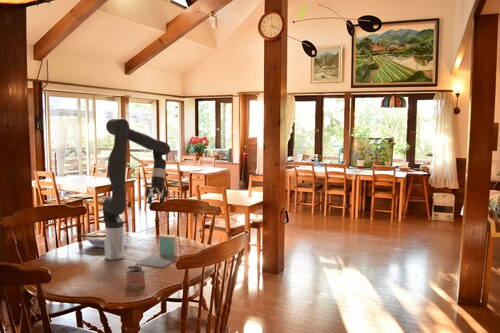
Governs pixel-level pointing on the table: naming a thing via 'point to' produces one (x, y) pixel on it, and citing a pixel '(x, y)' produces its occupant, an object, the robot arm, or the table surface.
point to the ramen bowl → (97, 238)
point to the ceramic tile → (168, 245)
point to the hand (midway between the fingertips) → (155, 204)
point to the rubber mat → (157, 261)
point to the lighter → (135, 277)
